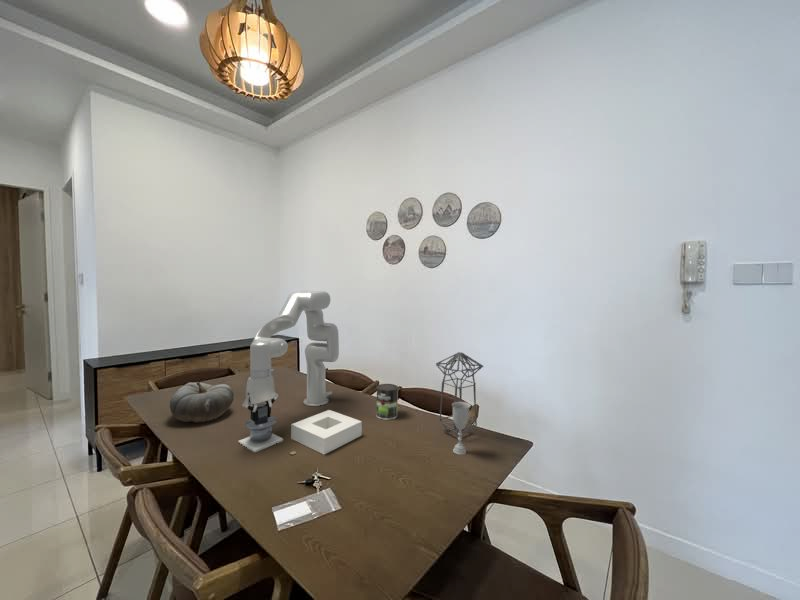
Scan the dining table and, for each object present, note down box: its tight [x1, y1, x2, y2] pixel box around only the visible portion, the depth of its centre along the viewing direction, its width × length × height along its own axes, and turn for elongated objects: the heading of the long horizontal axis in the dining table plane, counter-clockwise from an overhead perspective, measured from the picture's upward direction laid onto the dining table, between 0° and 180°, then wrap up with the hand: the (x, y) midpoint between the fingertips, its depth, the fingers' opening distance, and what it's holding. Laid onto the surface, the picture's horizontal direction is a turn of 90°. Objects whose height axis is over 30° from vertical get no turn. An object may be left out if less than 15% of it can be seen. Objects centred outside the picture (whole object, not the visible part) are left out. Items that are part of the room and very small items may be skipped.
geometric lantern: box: [435, 351, 484, 439], centre depth 143 cm, size 16×16×35 cm
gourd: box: [169, 381, 235, 423], centre depth 155 cm, size 25×25×17 cm
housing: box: [290, 409, 363, 455], centre depth 138 cm, size 20×20×6 cm
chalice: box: [451, 401, 471, 455], centre depth 128 cm, size 7×7×18 cm
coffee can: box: [375, 383, 399, 421], centre depth 161 cm, size 10×10×14 cm
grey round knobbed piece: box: [245, 403, 277, 442], centre depth 132 cm, size 11×11×12 cm
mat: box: [237, 432, 284, 453], centre depth 133 cm, size 12×12×1 cm
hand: (261, 418), depth 132 cm, fingers closed on grey round knobbed piece, 4 cm apart
